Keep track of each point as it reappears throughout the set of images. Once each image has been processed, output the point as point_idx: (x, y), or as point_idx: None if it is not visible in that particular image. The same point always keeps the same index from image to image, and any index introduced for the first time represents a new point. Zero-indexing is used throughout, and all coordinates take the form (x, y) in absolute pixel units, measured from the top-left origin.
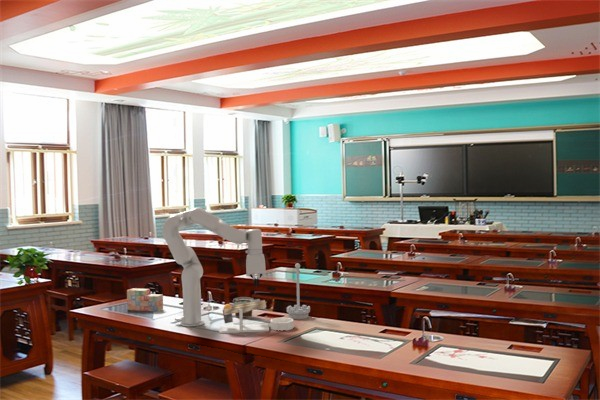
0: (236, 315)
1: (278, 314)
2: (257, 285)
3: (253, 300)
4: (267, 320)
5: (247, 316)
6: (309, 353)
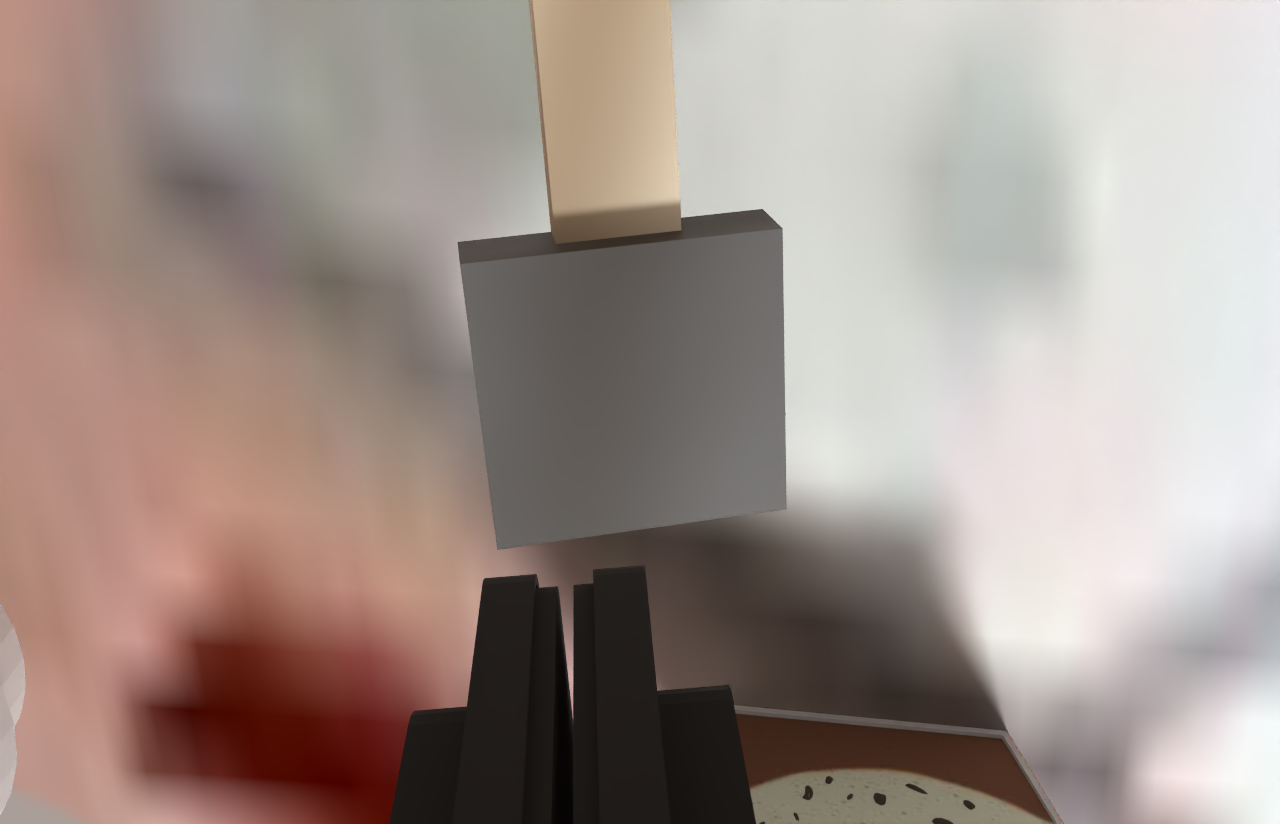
0: (994, 747)
1: (247, 820)
2: (512, 600)
3: (696, 439)
4: (399, 423)
5: (794, 713)
6: None
